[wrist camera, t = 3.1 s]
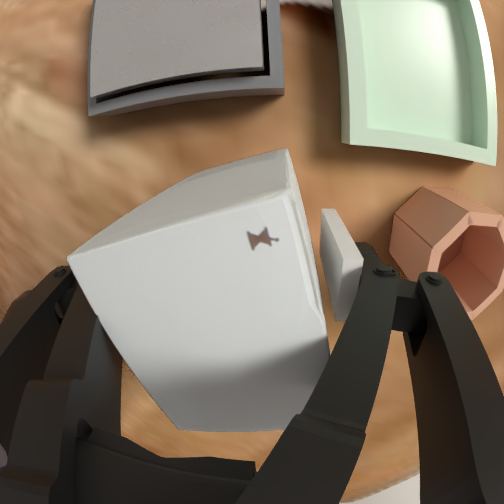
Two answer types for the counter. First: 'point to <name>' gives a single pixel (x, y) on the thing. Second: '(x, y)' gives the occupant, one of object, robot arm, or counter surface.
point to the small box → (215, 296)
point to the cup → (451, 244)
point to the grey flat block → (200, 89)
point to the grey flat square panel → (171, 41)
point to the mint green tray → (417, 77)
